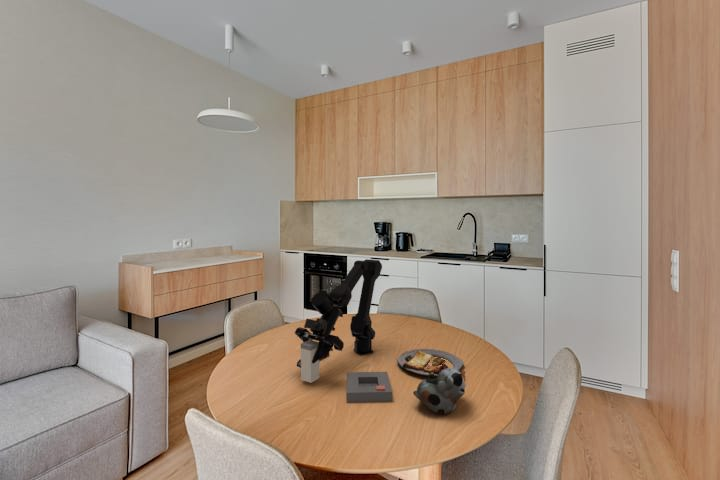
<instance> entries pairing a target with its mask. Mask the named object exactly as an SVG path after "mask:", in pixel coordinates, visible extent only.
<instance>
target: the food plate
mask: <svg viewBox="0 0 720 480" xmlns="http://www.w3.org/2000/svg"><path fill="white" fill-rule="evenodd" d="M432 356H433V357H432ZM434 357H437V358H434ZM431 358H432V359H431ZM441 358H443V359H446V360H448V361H449V362H450V363H451V364H452V365H453V369H456V370H458V371H459V372H460V369H461V368H462V367H463V365H464V364H465V362H464V361H463V359H461V358H459V357H458V356H457V355H455V354H453V353H449V352H448V351H445V350H440V349H434V348H416V349H415V348H414V349H411V350H407V351H404V352H403V353H401V354H400V356H398V358H397V359H396V362H397V364H398V365H399V366H400V367H401V368H402V369H404V370H405V371H408V372H412V373H414V374H418V375H419V376H426V377H427V376H428V377H429V373H430V372H433V373H434V375H435V377H437V376H438V374H439V373H440V372H441V371H442V370H445V369H447V368H449V366H448V365H447V364H445V362H446V361H445V360H443V359H441ZM430 359H431V360H432V361H431V362H430ZM444 361H445V362H444ZM429 362H430V363H432V366H430V365H429V364H428V363H429ZM443 362H444V363H443ZM449 362H448V363H449ZM442 363H443V364H442ZM441 364H442V366H439V365H441Z"/></svg>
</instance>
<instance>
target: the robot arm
mask: <svg viewBox="0 0 720 480" xmlns="http://www.w3.org/2000/svg"><path fill="white" fill-rule="evenodd" d="M382 269H383V264H382V263H381V261H380V260H379V259H364V260H356V261H354V262H353V266H352V267H351V269H350V270H349V272H348V273H347V275H346V276H345V278H344V279H343V281H342V282H341V283H340V284H339V285H337V286H335V287H333V289H331V291H330V293H328V291H327V290H324V289H321V290H320V291H318V292H317V293H316V294H314V295H313V296H312V297H311V298H310V304H311V305H312V307H314V309H315V310H316V311H317V312H318V313H319V314H320V315H321V316H320V318H316V320H315V319H311V318H306V319H305V323H304V325H303V327H300V326H299V327H297V328H296V329H295V331H294V334H295V335H296V336H297V337H298V338H299V339H300V340H301V341H302V343H303V342H306V341H308V340H312V341H316V342H319V347H318V349H317V351H316V353H315V355H314V357H313V360H312V363H313V364H314V363H315V362H316V361H318V360H319V359H320V358H321V357H323V356H324V355H325V354H327V353H328V352H329V353H330V352H333V351H334V350H337V351H340V352H342V351H343V349H344V346H345V344H344V341H343V340H342V339H341V338H340V337H339V336H338V335H334V334H331V333H332V331H333V332H334V331H335V330H336V328H335V325H336V323H337V320H338V319H339V317H340V318H343V317H344V314H343V310H342V309H340V308H347V307H348V305H350V302H351V300H352V297H353V296H352V295H353V294H352V293H353V292H352V291H353V290H354V289H355V286H356V285H357V284H358V282H359V281H360V279H361V277H363V282H362V287H361V293H360V298H359V303H358V304H359V305H358V307H357V308H358V309H357V312H356V314H355V315H352V316H351V322H350V326H349V327H350V328H349V329H350V331H351V337H354V339H355V340H354V341H353V342H354V343H353V344H354V345H353V346H354V348H353V351H354V352H355V353H357V354H358V355H360V356H361V355H362V356H363V355H367V354H368V355H369V354H372V353H374V350H373V349H372V348H373V347H372V346H373V345H372V344H373V343H372V341H373V340H374V339H375V337H376V331H375V330H374V328H373V327H372V325H373V324H372V323H373V321H372V319H371V316H370V311H371V307H372V301H373V294H374V289H375V285H376V284H375V283H376V280H377V279H378V278H379V277H380V276H381V272H382ZM308 329H309V330H308ZM319 361H320V360H319Z"/></svg>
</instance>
